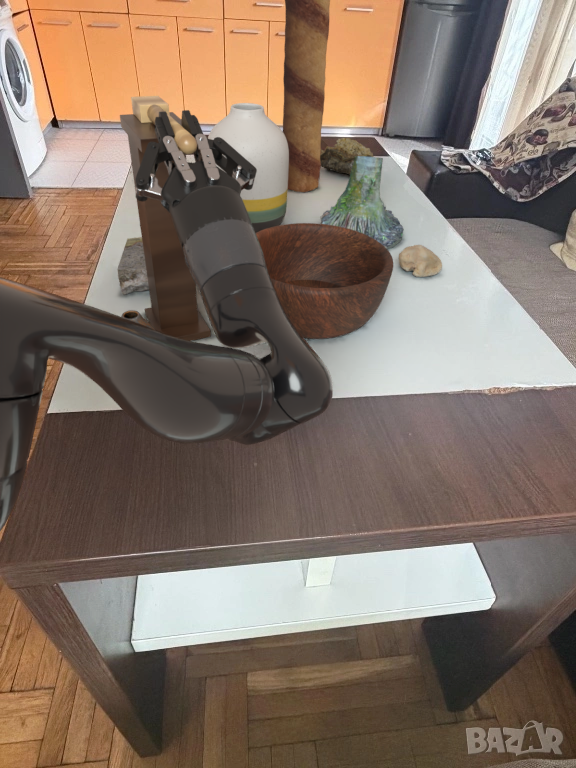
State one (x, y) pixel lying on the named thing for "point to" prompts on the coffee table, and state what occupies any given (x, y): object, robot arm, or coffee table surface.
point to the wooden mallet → (149, 110)
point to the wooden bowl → (326, 276)
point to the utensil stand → (163, 250)
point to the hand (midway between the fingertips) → (173, 117)
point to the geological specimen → (133, 267)
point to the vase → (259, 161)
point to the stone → (420, 261)
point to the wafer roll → (304, 89)
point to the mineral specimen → (343, 155)
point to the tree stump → (365, 205)
